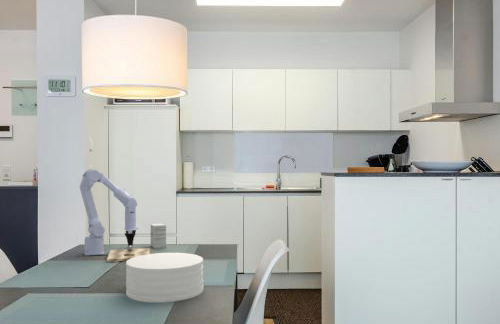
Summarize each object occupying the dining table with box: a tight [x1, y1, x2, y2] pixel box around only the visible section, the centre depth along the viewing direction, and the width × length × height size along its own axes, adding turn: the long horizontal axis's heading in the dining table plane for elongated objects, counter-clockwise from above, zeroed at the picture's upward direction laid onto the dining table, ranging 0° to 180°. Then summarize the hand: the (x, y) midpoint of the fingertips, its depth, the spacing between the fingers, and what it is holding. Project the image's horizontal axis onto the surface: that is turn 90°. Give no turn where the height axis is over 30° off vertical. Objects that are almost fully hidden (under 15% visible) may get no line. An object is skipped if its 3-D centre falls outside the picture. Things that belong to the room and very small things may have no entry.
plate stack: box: [125, 252, 204, 303], centre depth 167 cm, size 28×28×12 cm
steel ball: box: [126, 245, 134, 251], centre depth 235 cm, size 3×3×3 cm
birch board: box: [106, 247, 151, 263], centre depth 229 cm, size 20×24×2 cm
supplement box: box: [150, 223, 167, 249], centre depth 255 cm, size 7×7×13 cm
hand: (130, 244), depth 246 cm, fingers open, 7 cm apart
